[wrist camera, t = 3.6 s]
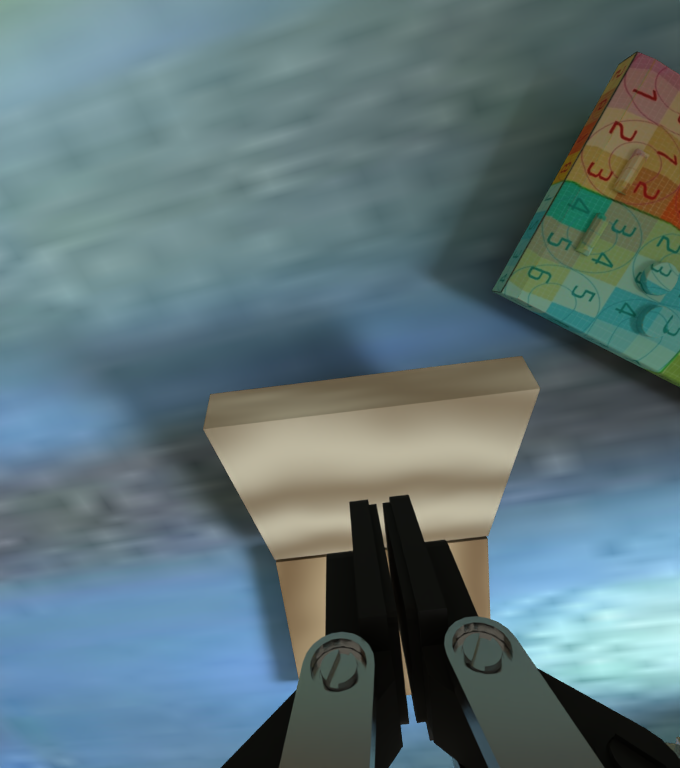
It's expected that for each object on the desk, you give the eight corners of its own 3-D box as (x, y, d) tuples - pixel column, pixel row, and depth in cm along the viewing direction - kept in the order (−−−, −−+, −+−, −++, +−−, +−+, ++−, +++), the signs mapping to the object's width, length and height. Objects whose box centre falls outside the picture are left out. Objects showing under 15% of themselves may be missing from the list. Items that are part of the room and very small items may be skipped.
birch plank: (478, 507, 28) (488, 536, 27) (276, 530, 29) (274, 559, 27) (521, 355, 18) (540, 388, 17) (210, 394, 19) (203, 429, 17)
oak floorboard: (477, 520, 29) (487, 538, 27) (483, 661, 33) (492, 686, 31) (279, 543, 29) (275, 562, 28) (305, 680, 33) (303, 705, 31)
